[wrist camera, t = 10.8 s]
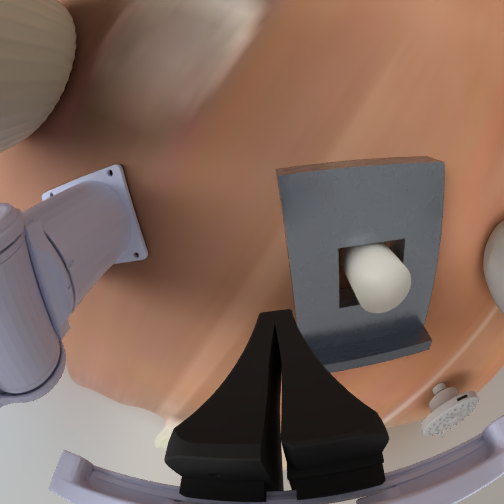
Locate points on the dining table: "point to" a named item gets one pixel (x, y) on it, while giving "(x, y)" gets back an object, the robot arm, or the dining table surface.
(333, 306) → the jig
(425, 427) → the showerhead
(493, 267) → the grey green bottle
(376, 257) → the white rounded capsule
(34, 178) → the dining table surface
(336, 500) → the robot arm
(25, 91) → the canister
